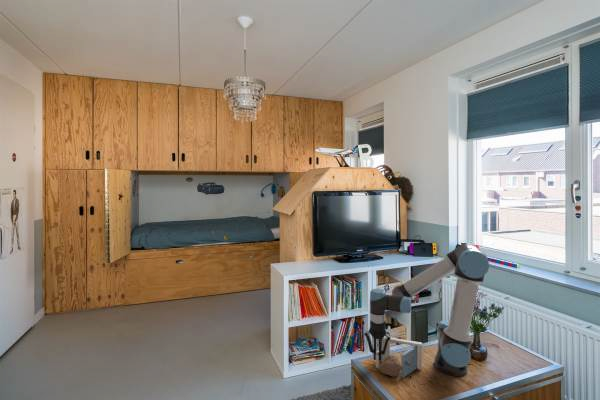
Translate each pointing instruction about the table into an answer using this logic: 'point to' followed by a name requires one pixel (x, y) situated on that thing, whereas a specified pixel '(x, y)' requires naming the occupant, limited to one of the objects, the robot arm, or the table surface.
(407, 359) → the door
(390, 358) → the stone
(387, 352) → the wall frame
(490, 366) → the table surface
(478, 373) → the table surface
